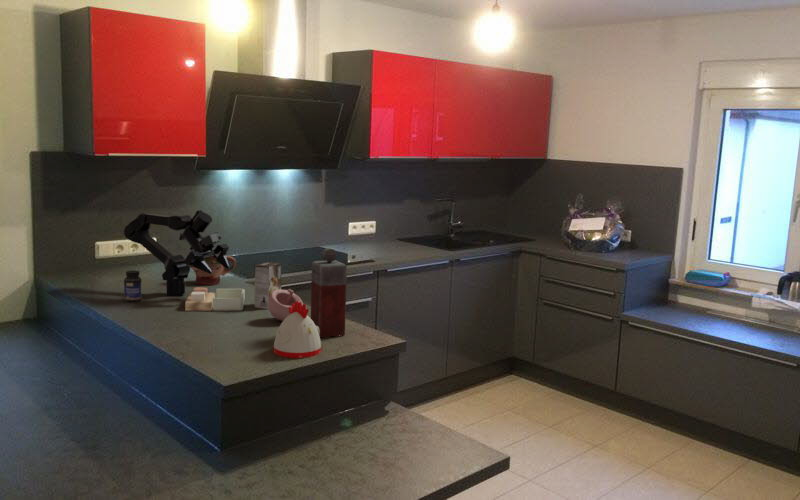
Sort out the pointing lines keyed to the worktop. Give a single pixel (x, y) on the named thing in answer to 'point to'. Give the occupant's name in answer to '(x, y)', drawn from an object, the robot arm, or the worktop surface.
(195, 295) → the offwhite tile
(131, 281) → the pill bottle
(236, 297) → the tray
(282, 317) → the mortar and pestle
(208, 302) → the oak board
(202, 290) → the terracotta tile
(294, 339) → the kitchen timer
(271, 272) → the coffee box
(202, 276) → the decorative planter
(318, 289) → the red square decanter
